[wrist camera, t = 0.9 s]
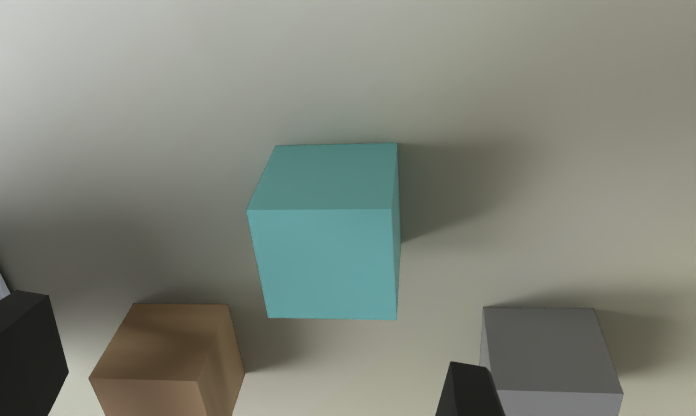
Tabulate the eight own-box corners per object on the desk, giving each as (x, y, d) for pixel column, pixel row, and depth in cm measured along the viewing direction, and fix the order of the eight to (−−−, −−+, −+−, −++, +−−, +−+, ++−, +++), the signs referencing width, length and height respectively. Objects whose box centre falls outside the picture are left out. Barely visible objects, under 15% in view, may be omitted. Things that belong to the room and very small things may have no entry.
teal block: (291, 242, 22) (268, 317, 18) (276, 144, 20) (246, 210, 16) (400, 242, 21) (396, 320, 18) (397, 141, 19) (391, 208, 16)
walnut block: (159, 369, 26) (120, 448, 23) (134, 302, 24) (88, 378, 21) (245, 372, 26) (219, 452, 23) (228, 303, 24) (196, 381, 20)
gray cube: (478, 377, 25) (487, 464, 21) (482, 305, 22) (493, 389, 19) (578, 380, 24) (603, 470, 21) (593, 306, 22) (623, 394, 19)
